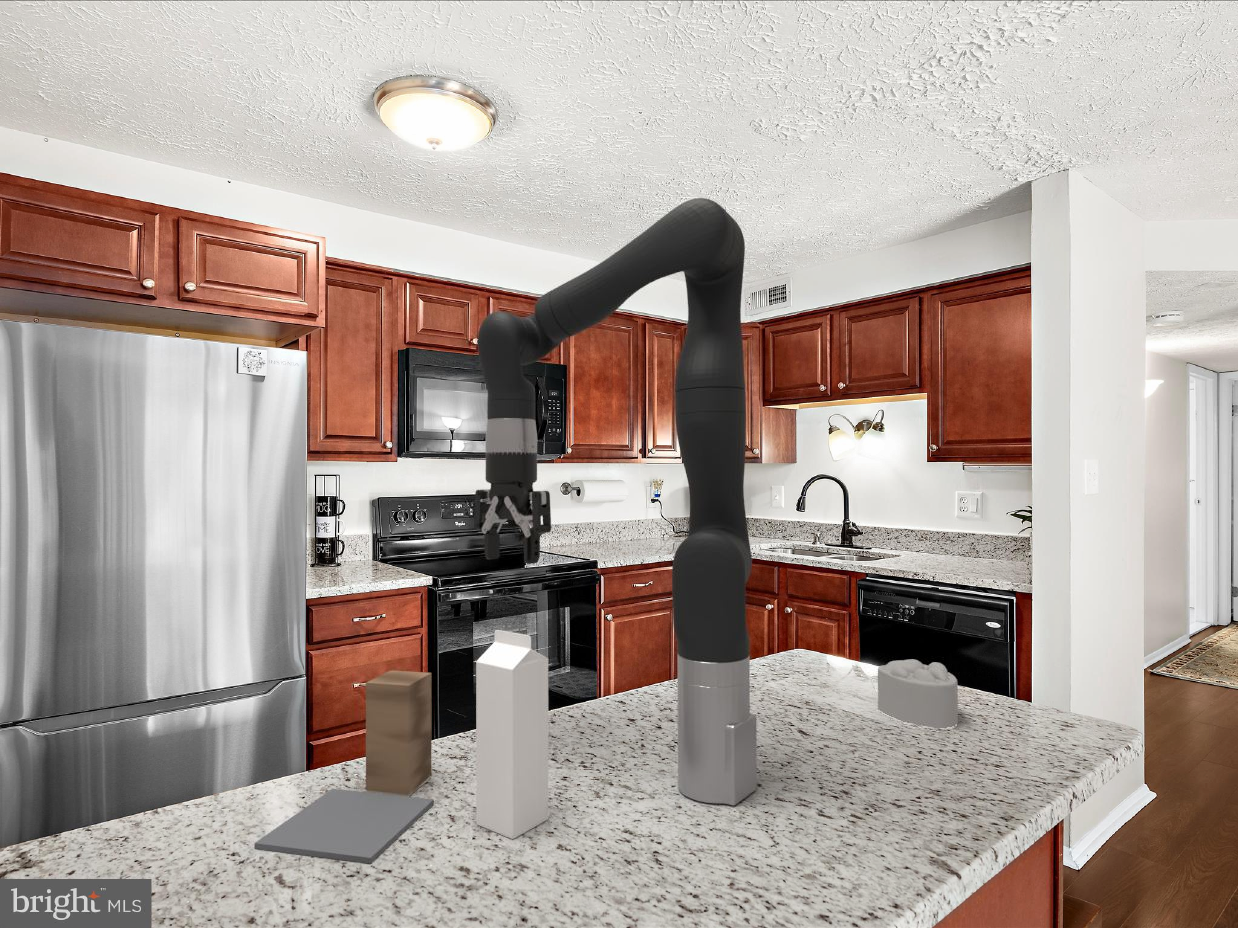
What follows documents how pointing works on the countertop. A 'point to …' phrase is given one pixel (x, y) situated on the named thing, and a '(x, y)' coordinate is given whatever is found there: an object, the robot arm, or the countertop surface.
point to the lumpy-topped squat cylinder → (918, 693)
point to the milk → (511, 736)
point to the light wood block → (398, 732)
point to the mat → (346, 825)
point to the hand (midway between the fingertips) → (511, 560)
